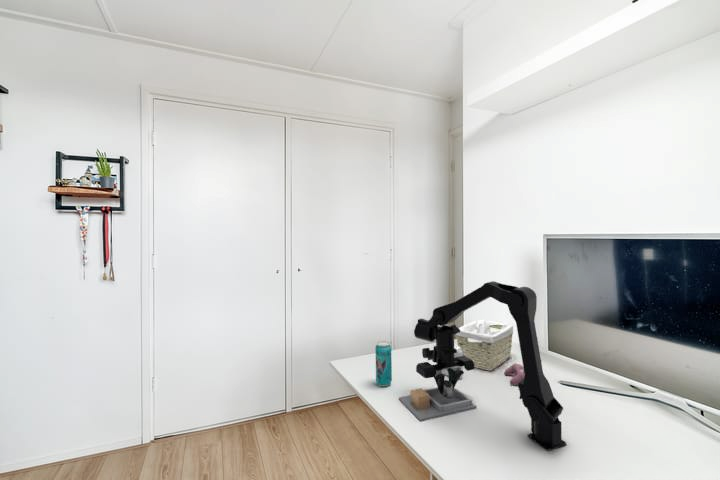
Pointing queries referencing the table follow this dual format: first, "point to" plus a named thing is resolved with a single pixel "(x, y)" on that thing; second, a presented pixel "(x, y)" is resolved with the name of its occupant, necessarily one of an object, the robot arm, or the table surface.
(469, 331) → the storage basket
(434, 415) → the grey tray
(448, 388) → the wristwatch
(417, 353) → the table surface
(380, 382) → the beverage can
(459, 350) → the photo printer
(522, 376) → the video game controller
